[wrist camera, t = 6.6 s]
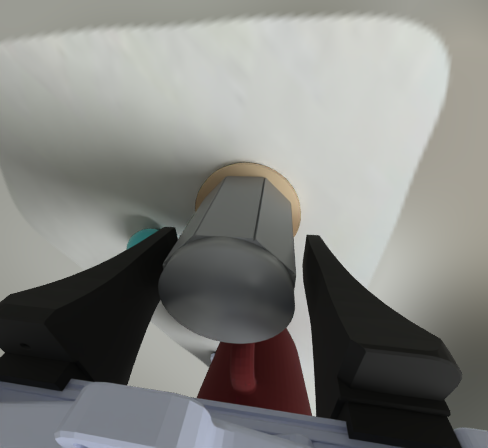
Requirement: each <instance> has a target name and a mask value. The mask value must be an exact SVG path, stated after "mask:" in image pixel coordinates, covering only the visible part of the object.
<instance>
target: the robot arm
mask: <svg viewBox="0 0 488 448" xmlns="http://www.w3.org/2000/svg"><path fill="white" fill-rule="evenodd" d="M177 241H178V238H177V234H176V229H175V228H174V227H164V228H162V229H160V230H158V231H157V232H155V233H154V234H152V235H150V236H149V237H147V238H146V239H144V240H142V241H141V242H139V243H137V244H136V245H134V246H133V247H131V248H129V249H127V250H126V251H124V252H122V253H120V254H119V255H117V256H115V257H113V258H111V259H109V260H107V261H105V262H103V263H101V264H99V265H97V266H94V267H92V268H90V269H87V270H85V271H82V272H80V273H77V274H75V275H72V276H70V277H67V278H64V279H62V280H58V281H55V282H52V283H49V284H46V285H43V286H40V287H36V288H32V289H28V290H25V291H21V292H17V293H14V294H10V295H9V296H7V297H6V298H5V299H4V300H2V301H1V302H0V348H1V349H2V350H3V351H4V352H5V353H4V354H3V356H2V357H0V448H488V431H486V430H479V429H473V428H455V429H452V426H451V424H450V422H449V420H448V418H447V416H448V417H449V416H450V410H449V408H448V406H447V404H446V402H445V400H444V399H445V398H446V397H447V396H448V395H449V394H450V393H451V392H452V391H453V390H454V389H455V388H456V387H457V386H458V384H459V383H460V381H461V379H462V372H461V370H460V369H459V367H458V366H457V364H456V362H455V360H454V358H453V357H452V355H451V353H450V352H449V350H448V349H447V347H446V346H445V344H444V343H443V342H442V340H441V339H440V338H438V337H436V336H435V335H433V334H431V333H429V332H428V331H426V330H424V329H423V328H421V327H419V326H418V325H416V324H414V323H413V322H411V321H409V320H408V319H406V318H405V317H403V316H402V315H400V314H399V313H397V312H396V311H394V310H393V309H392V308H390V307H389V306H387V305H386V304H384V303H383V302H382V301H381V300H379V299H378V298H377V297H375V296H374V295H373V294H372V293H371V292H369V291H368V290H367V289H366V288H365V287H364V286H362V285H361V284H360V283H359V282H358V281H357V280H356V279H355V278H354V277H353V276H352V275H351V274H350V273H349V272H348V271H347V270H346V269H345V268H344V267H343V265H342V264H341V263H340V262H339V261H338V260H337V258H336V257H335V256H334V255H333V253H332V252H331V251H330V250H329V248H328V247H327V246H326V244H325V243H324V241H323V240H322V239H321V237H320V236H319V235H307V237H306V244H305V251H304V258H303V282H304V288H305V294H306V299H307V305H308V311H309V316H310V323H311V331H312V345H313V360H314V376H315V396H316V417H315V416H308V415H302V414H295V413H289V412H283V411H276V410H270V409H263V408H257V407H250V406H244V405H238V404H231V403H225V402H218V401H212V400H205V399H199V398H192V397H188V396H184V395H180V394H177V393H172V392H165V391H158V390H153V389H145V388H139V387H133V386H127V384H128V381H129V378H130V375H131V372H132V368H133V365H134V363H135V360H136V357H137V354H138V351H139V348H140V345H141V343H142V340H143V338H144V335H145V333H146V330H147V327H148V325H149V323H150V320H151V318H152V315H153V313H154V311H155V309H156V307H157V305H158V303H159V301H160V296H159V291H158V284H159V278H160V276H161V273H162V272H163V270H164V269H163V263H164V261H165V259H166V258H167V256H168V255H169V253H170V252H171V250H172V248H173V247H174V245H175V244H176V242H177ZM214 355H215V353H213V354H211V357H210V360H211V362H212V360H213V358H214Z"/></svg>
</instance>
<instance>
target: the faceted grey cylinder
mask: <svg viewBox="0 0 488 448" xmlns="http://www.w3.org/2000/svg"><path fill="white" fill-rule="evenodd" d="M163 269H164V270H163V272H162V273H161V276H160V278H159V284H158V291H159V296H160V299H161V301H162V303H163V305H164V307H165V308H166V310H167V311H168V312H169V314H170V315H171V316H172V317H173V318H174V319H175V320H176V321H178V322H179V323H180V324H181V325H183V326H184V327H186V328H187V329H189V330H191V331H192V332H194V333H197V334H199V335H201V336H204V337H206V338H209V339H213V340H216V341H221V342H227V343H238V344H245V343H254V342H260V341H264V340H267V339H269V338H272V337H274V336H276V335H278V334H279V333H280V332H282V331H283V330H284V329H285V328H286V327H287V326H288V325H289V323H290V322H291V320H292V318H293V315H294V311H295V300H294V288H295V280H296V267H295V253H294V238H293V224H292V210H291V202H290V201H289V200H288V199H287V198H286V197H285V196H284V195H283V194H282V193H281V192H280V191H279V190H278V189H277V188H276V187H275V186H274V185H273V184H272V183H271V182H270V181H269V180H268V179H267V178H265V179H264V177H252V176H227V177H225V178H224V179H223V180H222V181H221V182H220V183H219V184H218V185H217V186H216V187H215V188H214V189H213V190H212V191H211V192H210V193H209V194H208V195H207V196H206V197H205V199H204V200H203V201H202V203H201V205H200V206H199V208H198V209H197V211H196V212H195V214H194V216H193V217H192V219H191V220H190V222H189V223H188V225H187V227H186V228H185V230H184V231H183V233H182V234H181V236H180V237H179V239H178V241H177V242H176V244H175V245H174V247H173V248H172V250H171V252H170V253H169V255H168V256H167V258H166V259H165V261H164V263H163Z"/></svg>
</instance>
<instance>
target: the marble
mask: <svg viewBox="0 0 488 448" xmlns="http://www.w3.org/2000/svg"><path fill="white" fill-rule="evenodd" d="M157 231H158V230H156V229H143V230H141V231H138V232H137V233H135V234H134V235H133V236H132V237H131V238H130V240H129V242H128V244H127V249H129V248H131V247H133V246H134V245H136V244H137V243H139V242H141V241H142V240H144V239H146V238H147V237H149V236H150V235H152V234H154V233H155V232H157Z"/></svg>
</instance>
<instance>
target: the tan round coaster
mask: <svg viewBox="0 0 488 448" xmlns="http://www.w3.org/2000/svg"><path fill="white" fill-rule="evenodd" d="M227 176H252V177H264V179H265V178H267V179H268V180H269V181H270V182H271V183H272V184H273V185H274V186H275V187H276V188H277V189H278V190H279V191H280V192H281V193H282V194H283V195H284V196H285V197H286V198H287V199H288V200H289V201H290V202H291V210H292V224H293V238H294V236H295V235H296V233H297V231H298V228H299V225H300V220H301V210H300V203H299V199H298V196H297V194H296V192H295V190H294V188H293V187H292V185H291V184H290V183H289V182H288V180H287V179H286V178H284V177H283V176H282V175H281V174H279V173H278V172H277V171H275V170H273V169H271V168H269V167H266V166H263V165H260V164H255V163H236V164H231V165H228V166H225V167H223V168H221V169H219V170H217V171H216V172H214V173H213V174H212V175H211V176H210V177H209V178H208V179H207V180H206V181H205V182H204V184H203V185H202V187H201V188H200V190H199V192H198V195H197V198H196V203H195V212H196V211H197V209H198V208H199V206H200V205H201V203H202V201H203V200H204V199H205V197H206V196H207V195H208V194H209V193H210V192H211V191H212V190H213V189H214V188H215V187H216V186H217V185H218V184H219V183H220V182H221V181H222V180H223V179H224V178H225V177H227Z"/></svg>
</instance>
